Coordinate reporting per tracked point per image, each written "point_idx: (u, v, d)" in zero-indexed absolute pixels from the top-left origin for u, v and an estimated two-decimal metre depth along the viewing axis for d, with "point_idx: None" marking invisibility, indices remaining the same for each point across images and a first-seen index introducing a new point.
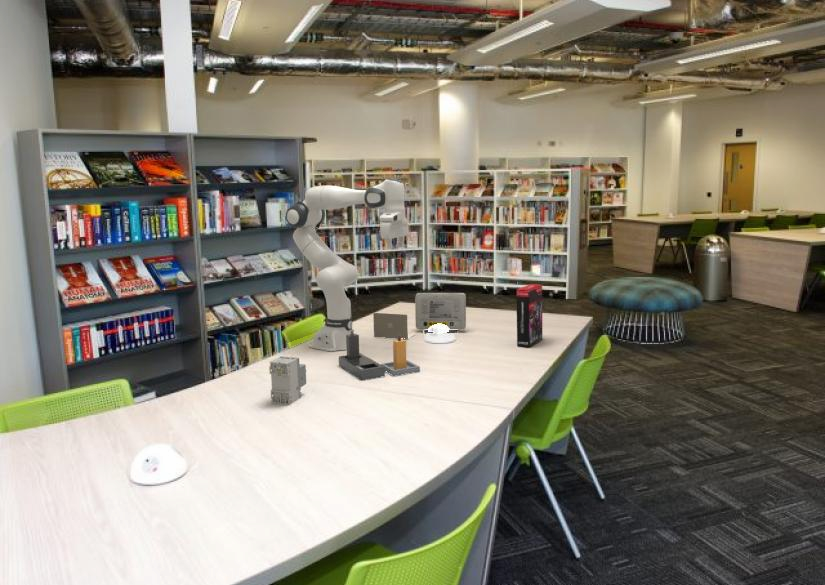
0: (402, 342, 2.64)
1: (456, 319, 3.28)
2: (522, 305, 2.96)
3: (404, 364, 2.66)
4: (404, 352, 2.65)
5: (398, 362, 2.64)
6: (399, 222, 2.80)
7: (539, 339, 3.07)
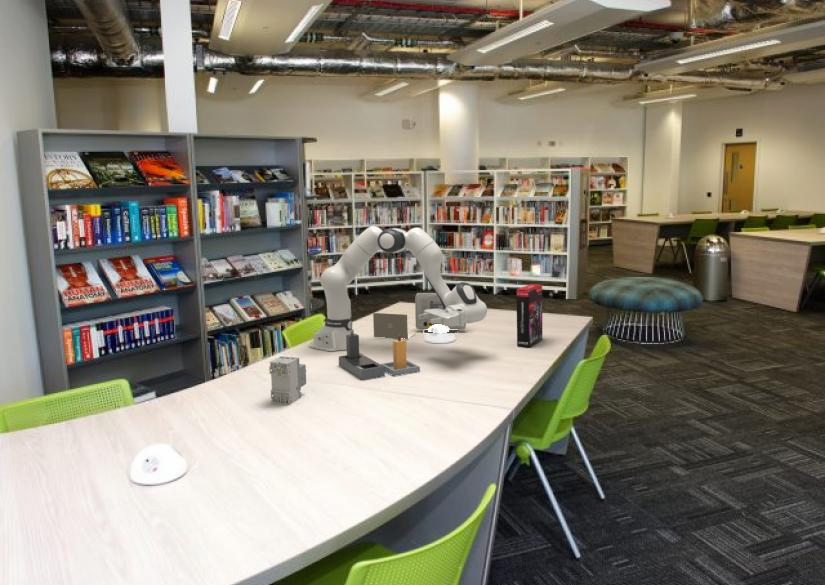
0: (402, 342, 2.64)
1: None
2: (522, 305, 2.96)
3: (404, 364, 2.66)
4: (404, 352, 2.65)
5: (398, 362, 2.64)
6: None
7: (539, 339, 3.07)
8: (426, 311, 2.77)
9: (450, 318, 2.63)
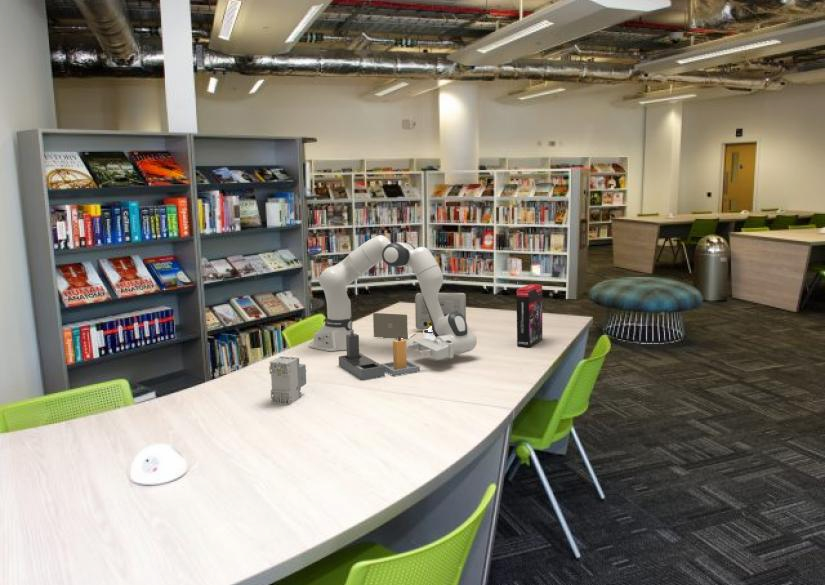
0: (402, 342, 2.64)
1: None
2: (522, 305, 2.96)
3: (404, 364, 2.66)
4: (404, 352, 2.65)
5: (398, 362, 2.64)
6: None
7: (539, 339, 3.07)
8: (415, 341, 2.77)
9: (439, 350, 2.63)
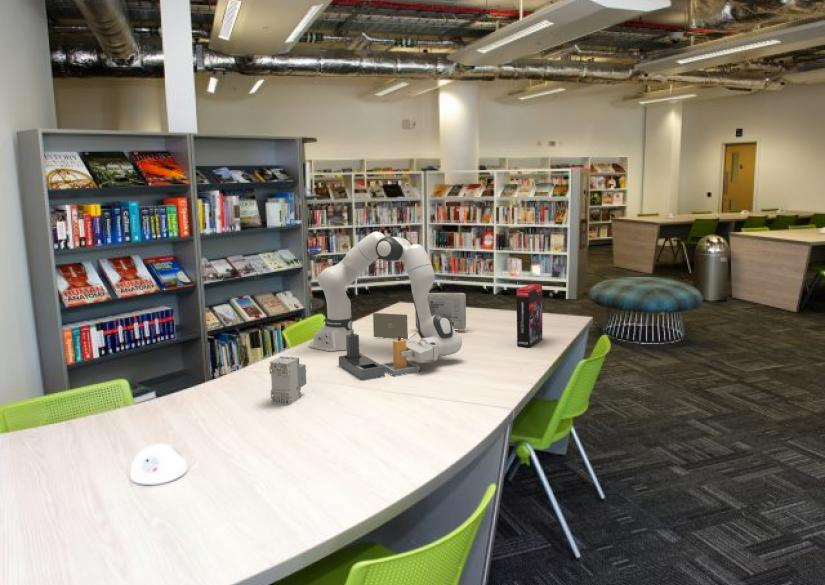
0: (402, 342, 2.64)
1: (456, 319, 3.28)
2: (522, 305, 2.96)
3: (404, 364, 2.66)
4: None
5: (398, 362, 2.64)
6: None
7: (539, 339, 3.07)
8: None
9: (423, 352, 2.59)
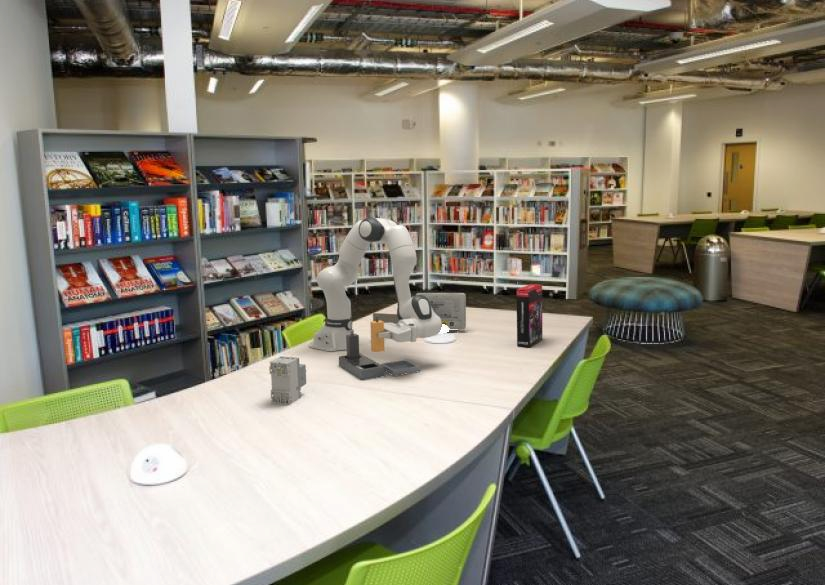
0: (380, 323, 2.58)
1: (456, 319, 3.28)
2: (522, 305, 2.96)
3: (382, 346, 2.60)
4: None
5: (376, 344, 2.58)
6: None
7: (539, 339, 3.07)
8: None
9: (400, 333, 2.53)
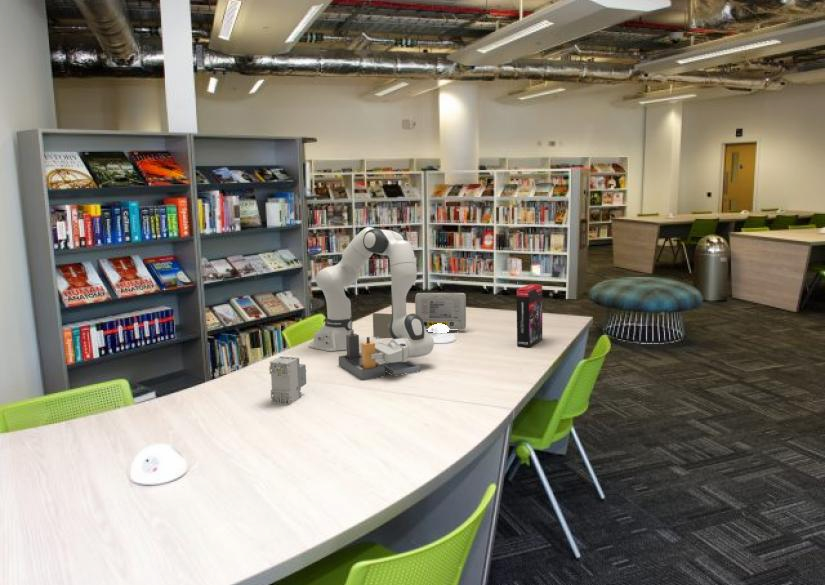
0: (371, 345, 2.57)
1: (456, 319, 3.28)
2: (522, 305, 2.96)
3: None
4: None
5: (367, 365, 2.58)
6: None
7: (539, 339, 3.07)
8: None
9: (391, 354, 2.53)
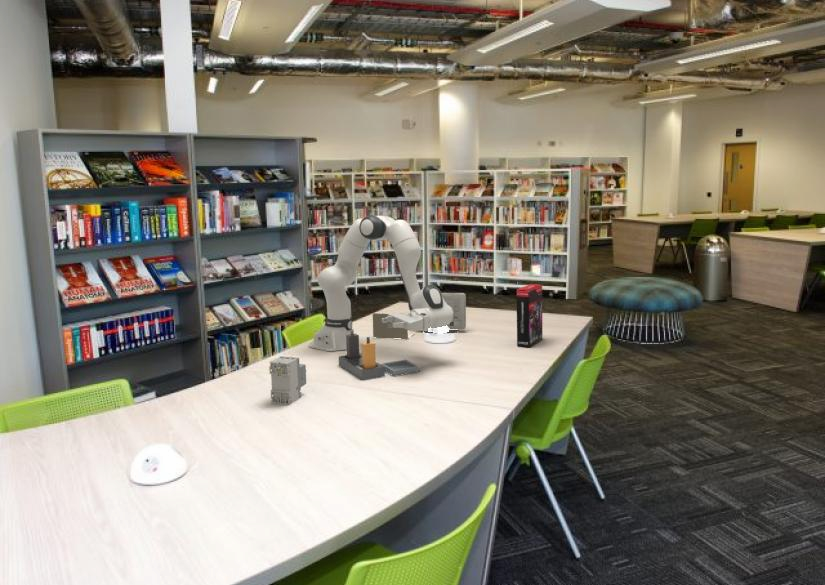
0: (371, 345, 2.57)
1: (456, 319, 3.28)
2: (522, 305, 2.96)
3: None
4: (373, 355, 2.58)
5: (367, 365, 2.58)
6: None
7: (539, 339, 3.07)
8: (390, 314, 2.69)
9: (413, 322, 2.55)
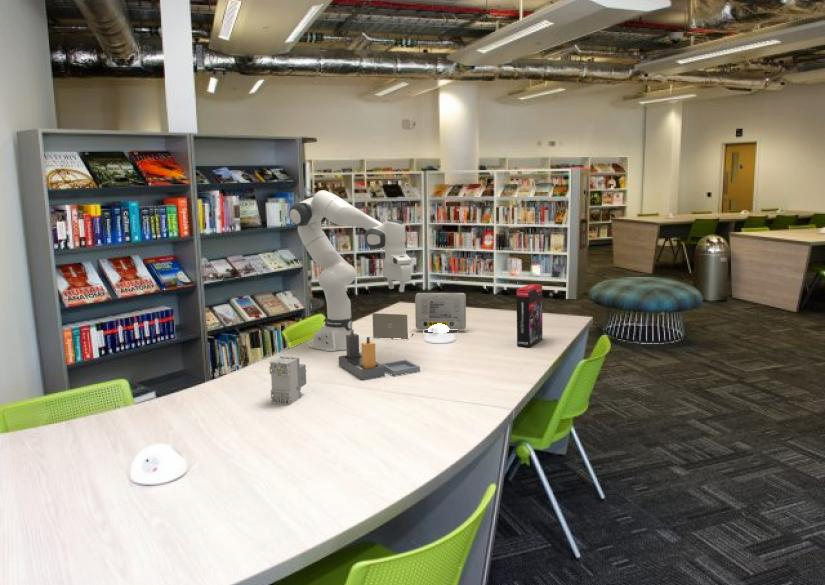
0: (371, 345, 2.57)
1: (456, 319, 3.28)
2: (522, 305, 2.96)
3: None
4: (373, 355, 2.58)
5: (367, 365, 2.58)
6: None
7: (539, 339, 3.07)
8: None
9: (404, 278, 2.66)
